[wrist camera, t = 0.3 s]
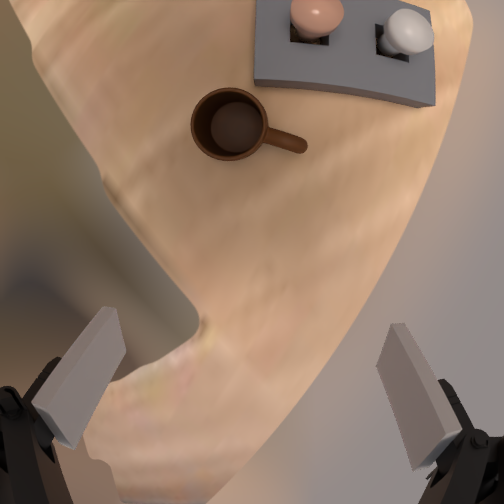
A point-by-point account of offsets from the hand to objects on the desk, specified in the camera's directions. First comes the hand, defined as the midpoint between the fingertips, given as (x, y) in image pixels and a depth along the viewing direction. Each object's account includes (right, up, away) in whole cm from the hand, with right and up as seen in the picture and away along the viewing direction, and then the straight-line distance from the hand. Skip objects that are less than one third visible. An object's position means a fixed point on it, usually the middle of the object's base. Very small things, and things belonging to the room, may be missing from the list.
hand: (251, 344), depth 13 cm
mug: (0, +19, +22) cm, 29 cm away
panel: (+12, +31, +17) cm, 37 cm away
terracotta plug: (+6, +30, +14) cm, 33 cm away
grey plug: (+16, +29, +13) cm, 36 cm away
